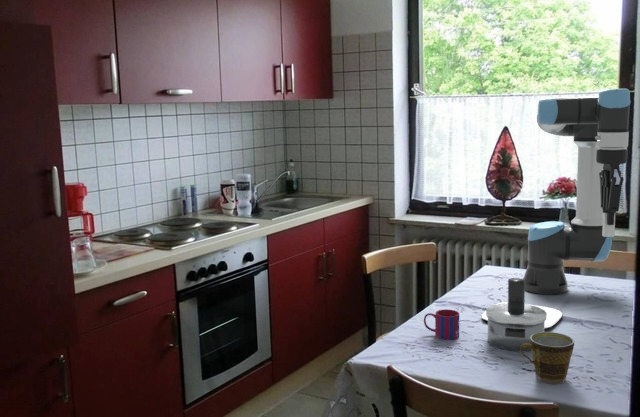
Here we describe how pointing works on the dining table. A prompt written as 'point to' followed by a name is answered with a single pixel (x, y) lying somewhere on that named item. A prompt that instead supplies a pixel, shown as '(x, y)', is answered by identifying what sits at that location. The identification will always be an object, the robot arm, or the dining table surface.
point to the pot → (511, 335)
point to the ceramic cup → (550, 356)
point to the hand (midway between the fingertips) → (608, 236)
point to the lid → (516, 308)
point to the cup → (445, 324)
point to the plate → (551, 319)
